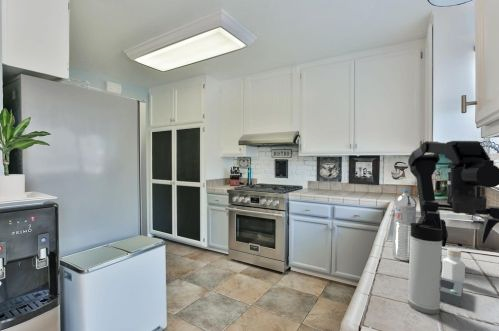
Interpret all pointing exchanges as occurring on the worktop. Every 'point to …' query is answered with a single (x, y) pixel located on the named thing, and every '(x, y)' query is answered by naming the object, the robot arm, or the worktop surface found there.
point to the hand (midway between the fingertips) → (461, 239)
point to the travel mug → (425, 268)
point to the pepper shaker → (453, 266)
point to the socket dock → (451, 291)
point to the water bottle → (403, 225)
